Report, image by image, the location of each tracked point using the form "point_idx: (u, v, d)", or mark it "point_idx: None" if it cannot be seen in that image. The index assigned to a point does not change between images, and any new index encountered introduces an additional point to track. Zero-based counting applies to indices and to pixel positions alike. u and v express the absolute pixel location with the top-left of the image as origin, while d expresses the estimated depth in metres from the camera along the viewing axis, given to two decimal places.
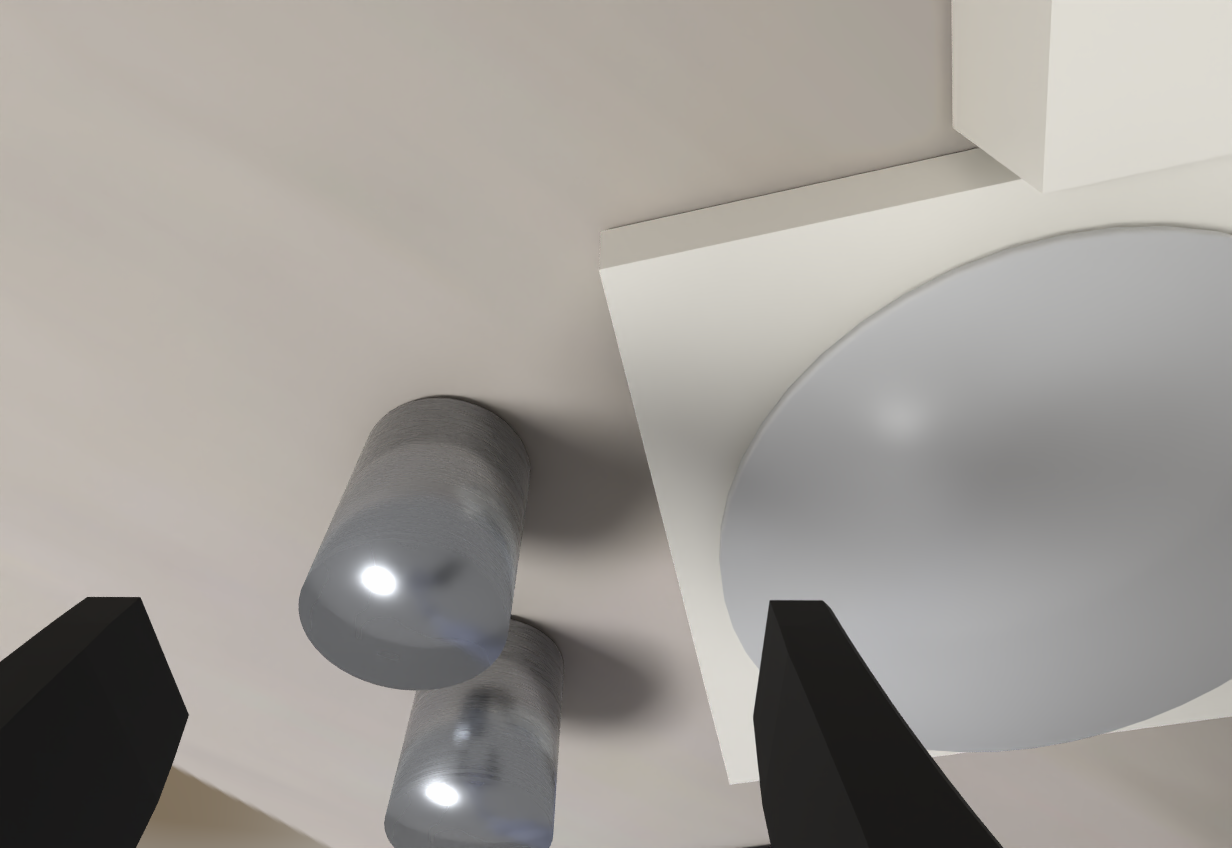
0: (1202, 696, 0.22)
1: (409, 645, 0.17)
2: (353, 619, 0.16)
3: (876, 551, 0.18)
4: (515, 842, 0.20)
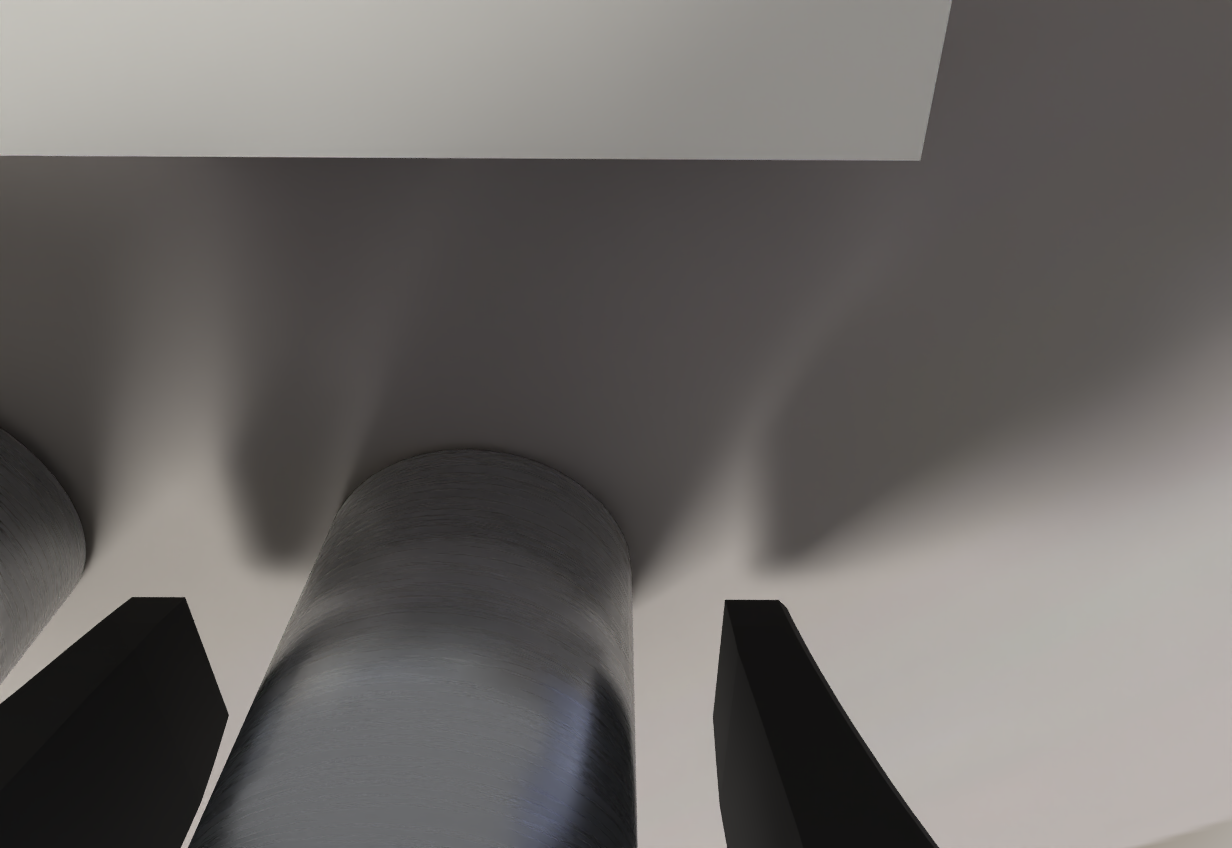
0: None
1: None
2: None
3: None
4: None
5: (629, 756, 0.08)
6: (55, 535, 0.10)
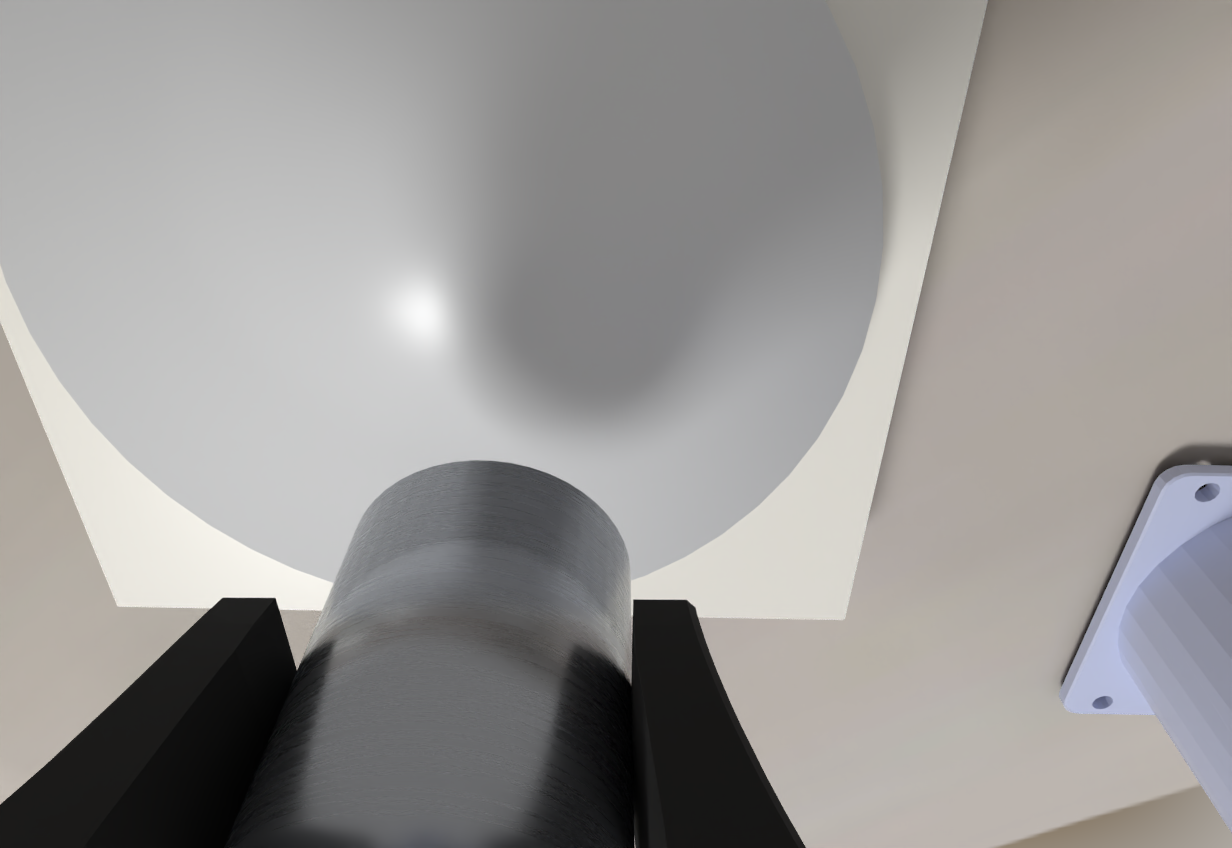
0: None
1: None
2: None
3: None
4: None
5: (623, 730, 0.09)
6: None
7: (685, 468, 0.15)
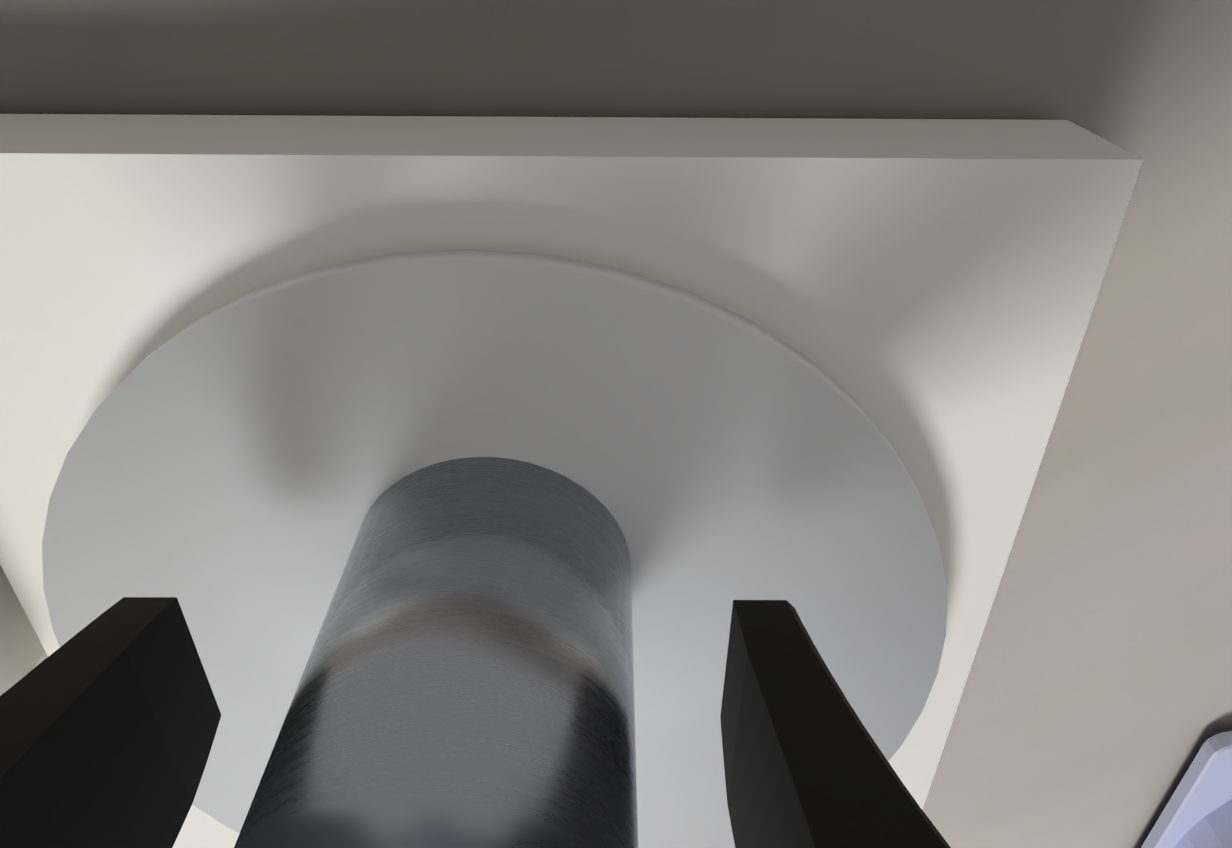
0: (986, 408, 0.12)
1: None
2: None
3: None
4: None
5: (626, 717, 0.09)
6: None
7: None
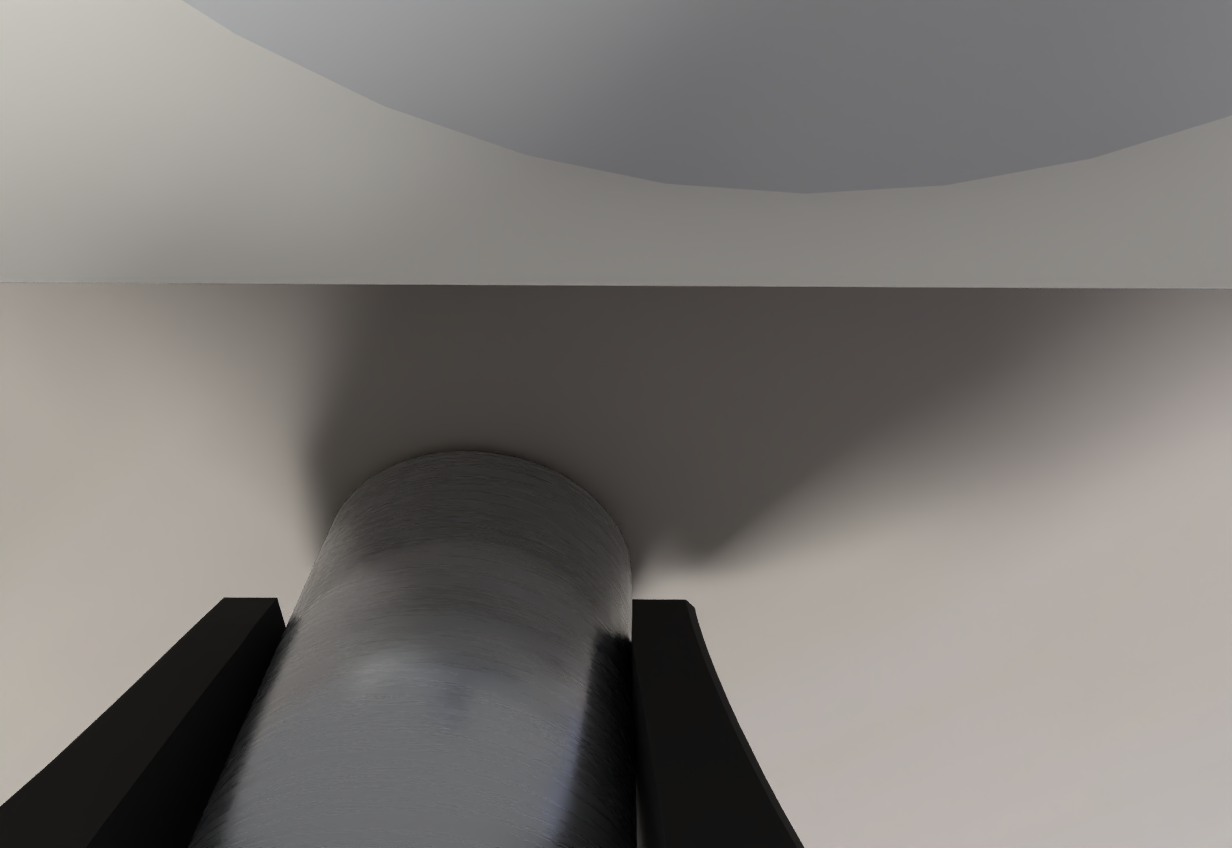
0: None
1: None
2: None
3: None
4: None
5: None
6: (631, 600, 0.11)
7: None
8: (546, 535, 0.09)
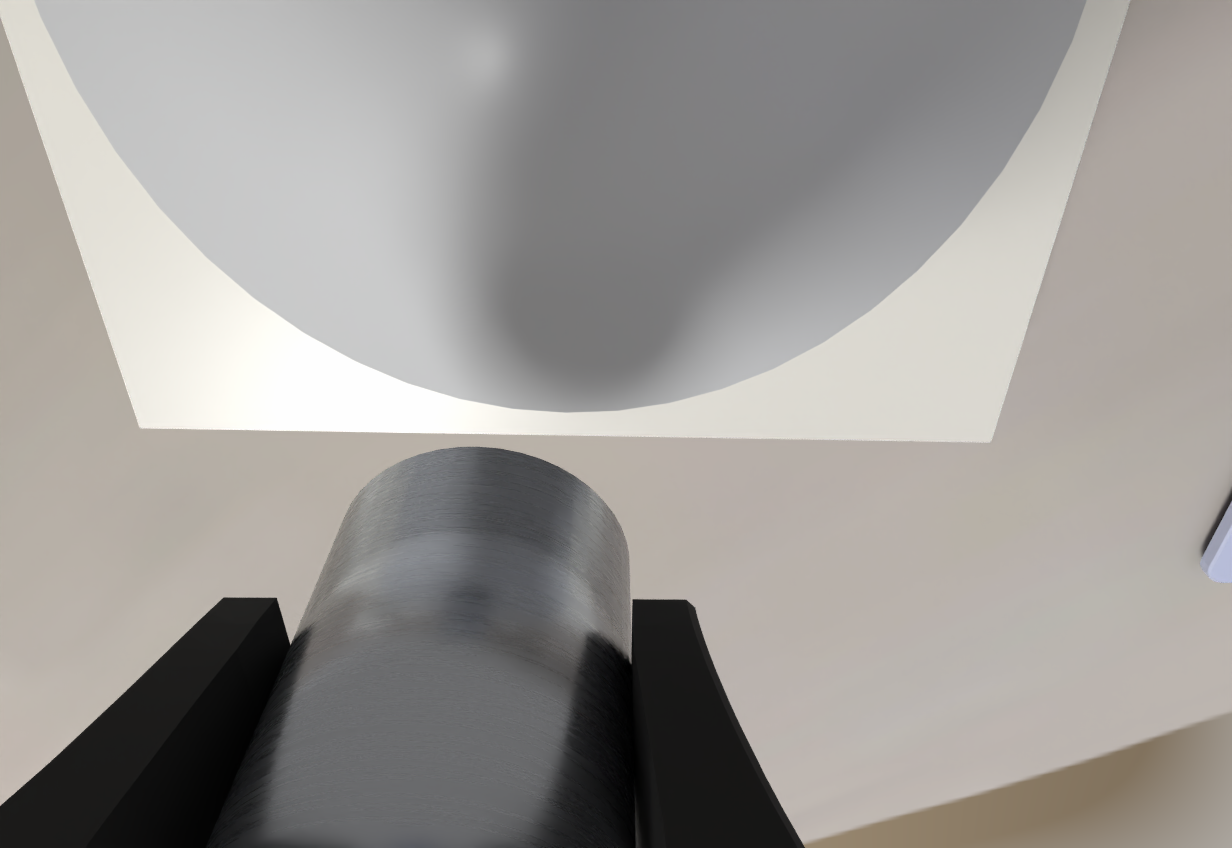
0: None
1: None
2: None
3: (515, 221, 0.13)
4: None
5: None
6: None
7: (836, 216, 0.13)
8: (555, 529, 0.10)
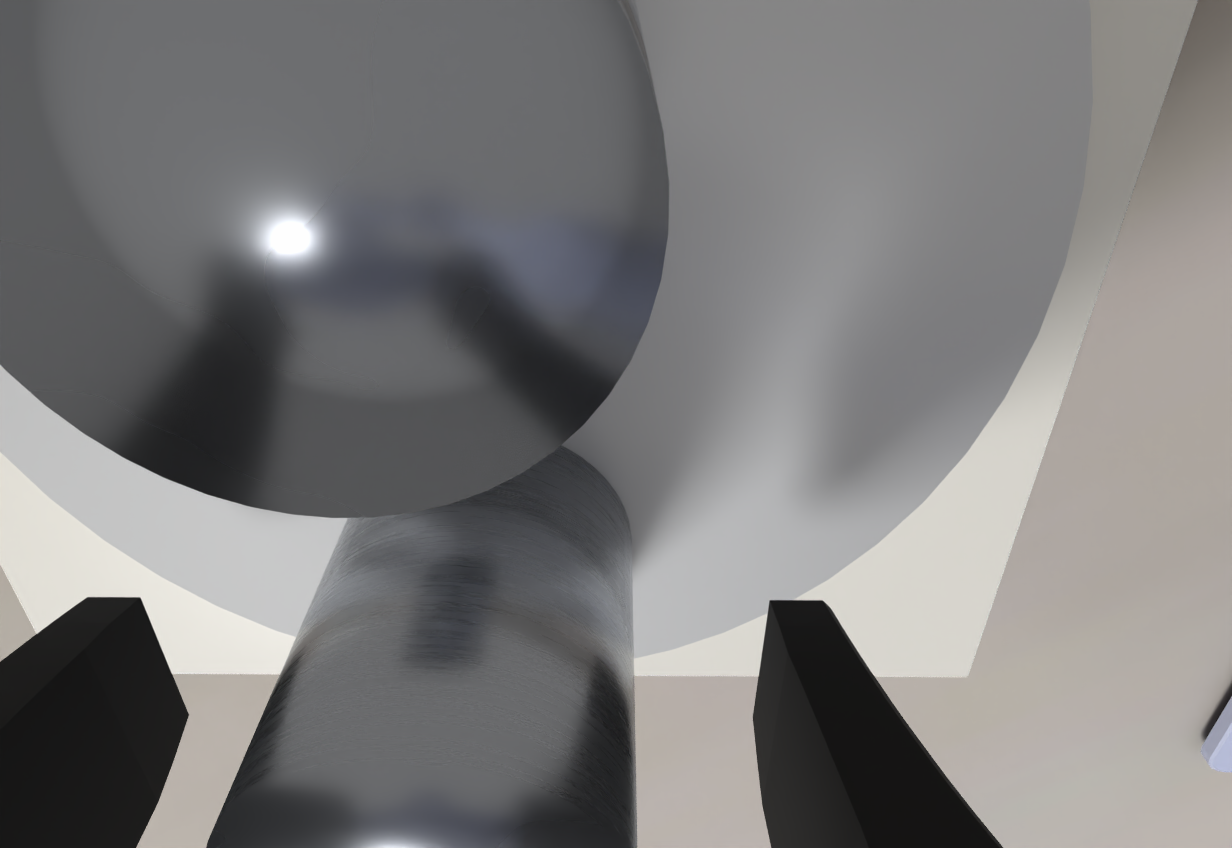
0: None
1: None
2: None
3: None
4: (371, 0, 0.04)
5: (637, 19, 0.06)
6: None
7: (785, 496, 0.12)
8: (562, 504, 0.10)
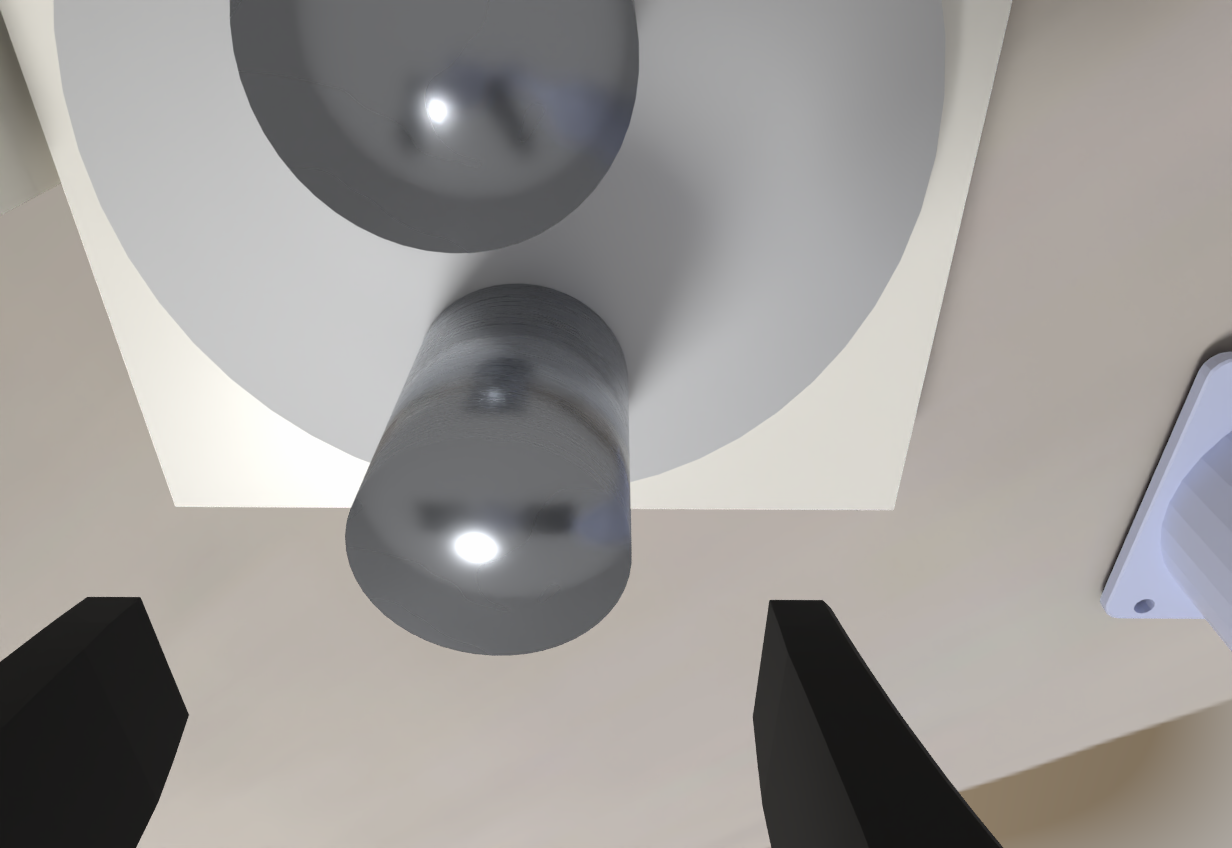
0: None
1: (536, 566, 0.12)
2: (473, 604, 0.12)
3: None
4: None
5: None
6: None
7: (742, 341, 0.16)
8: (577, 330, 0.14)
